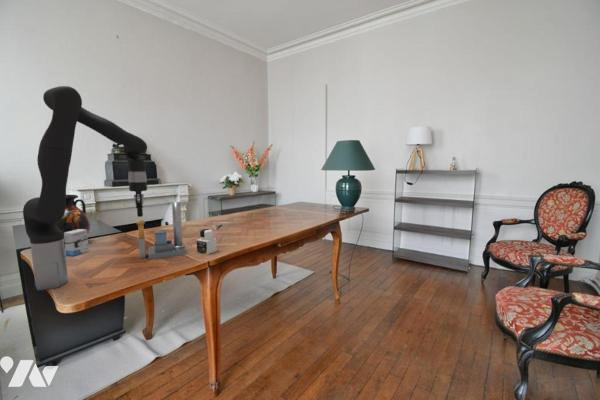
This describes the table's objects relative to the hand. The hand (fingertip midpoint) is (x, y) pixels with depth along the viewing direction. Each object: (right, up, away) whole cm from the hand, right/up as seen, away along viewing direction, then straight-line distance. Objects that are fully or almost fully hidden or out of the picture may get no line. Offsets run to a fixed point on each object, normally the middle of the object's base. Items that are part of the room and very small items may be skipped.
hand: (140, 216), depth 136 cm
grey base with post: (+7, -20, +7) cm, 22 cm away
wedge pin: (0, -14, +2) cm, 14 cm away
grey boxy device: (+30, -20, +9) cm, 37 cm away
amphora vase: (-52, -18, +20) cm, 59 cm away
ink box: (-36, -20, +6) cm, 41 cm away
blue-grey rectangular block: (+7, -17, +6) cm, 20 cm away
